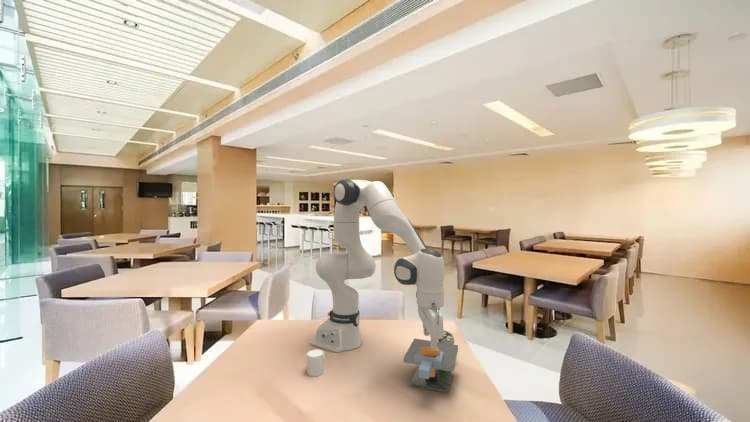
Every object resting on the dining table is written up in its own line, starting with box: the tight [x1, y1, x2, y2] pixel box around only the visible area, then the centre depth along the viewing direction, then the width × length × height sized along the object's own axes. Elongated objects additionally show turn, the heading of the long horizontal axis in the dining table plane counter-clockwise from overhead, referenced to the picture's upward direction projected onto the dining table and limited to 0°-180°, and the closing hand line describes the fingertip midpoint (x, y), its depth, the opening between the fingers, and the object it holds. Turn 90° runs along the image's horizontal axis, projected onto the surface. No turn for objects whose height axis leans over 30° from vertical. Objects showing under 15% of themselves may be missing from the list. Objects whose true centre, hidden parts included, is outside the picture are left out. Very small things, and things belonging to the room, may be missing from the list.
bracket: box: [414, 348, 444, 379], centre depth 98 cm, size 8×13×3 cm, turn 160°
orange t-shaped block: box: [420, 347, 440, 377], centre depth 101 cm, size 6×3×8 cm, turn 92°
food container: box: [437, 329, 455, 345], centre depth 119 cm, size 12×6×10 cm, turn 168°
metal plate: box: [403, 338, 459, 395], centre depth 106 cm, size 16×16×10 cm
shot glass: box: [305, 348, 326, 377], centre depth 110 cm, size 7×7×7 cm
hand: (429, 340), depth 101 cm, fingers open, 8 cm apart
